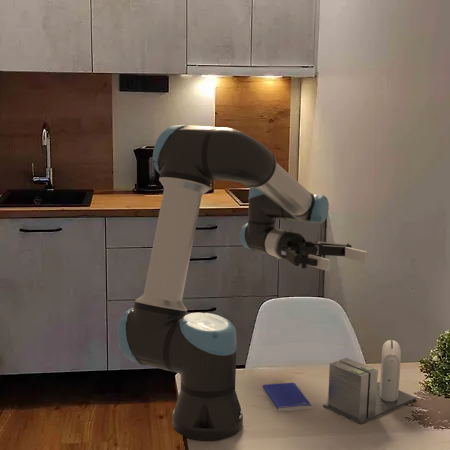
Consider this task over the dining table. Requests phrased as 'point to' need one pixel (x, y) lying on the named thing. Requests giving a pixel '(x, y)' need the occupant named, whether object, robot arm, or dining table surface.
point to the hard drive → (286, 397)
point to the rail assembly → (359, 392)
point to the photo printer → (390, 371)
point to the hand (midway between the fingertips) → (348, 261)
